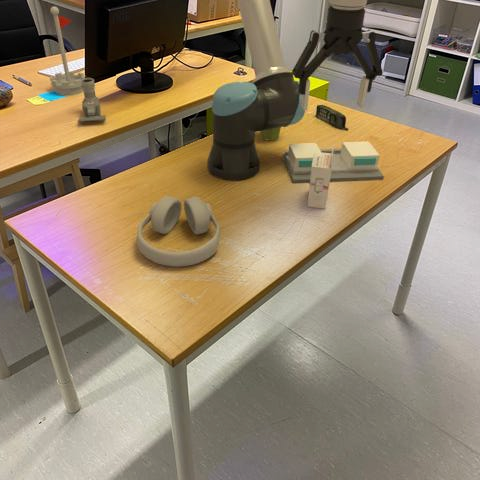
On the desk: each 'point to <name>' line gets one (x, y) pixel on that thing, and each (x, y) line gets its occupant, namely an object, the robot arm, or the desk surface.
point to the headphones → (165, 220)
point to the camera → (90, 102)
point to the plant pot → (270, 134)
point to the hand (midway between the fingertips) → (332, 106)
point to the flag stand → (65, 64)
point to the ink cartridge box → (320, 179)
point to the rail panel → (334, 162)
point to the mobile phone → (331, 116)
